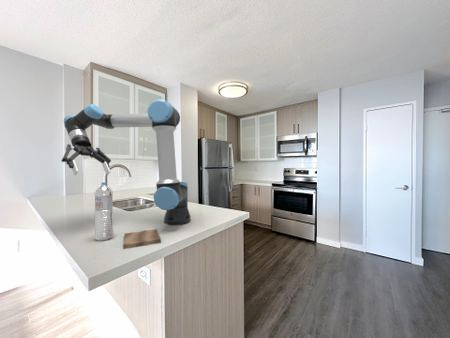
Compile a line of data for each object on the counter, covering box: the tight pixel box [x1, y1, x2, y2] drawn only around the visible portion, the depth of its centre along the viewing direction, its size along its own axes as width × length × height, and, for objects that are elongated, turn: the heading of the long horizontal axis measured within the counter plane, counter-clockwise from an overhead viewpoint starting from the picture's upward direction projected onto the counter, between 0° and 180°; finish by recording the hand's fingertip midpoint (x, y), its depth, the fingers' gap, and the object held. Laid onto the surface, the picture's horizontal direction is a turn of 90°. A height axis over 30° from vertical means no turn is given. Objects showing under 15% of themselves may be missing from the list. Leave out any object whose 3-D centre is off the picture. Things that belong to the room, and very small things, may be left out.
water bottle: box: [94, 181, 114, 242], centre depth 85 cm, size 7×7×25 cm
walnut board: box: [122, 228, 162, 250], centre depth 84 cm, size 14×14×2 cm
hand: (93, 173), depth 89 cm, fingers open, 13 cm apart
